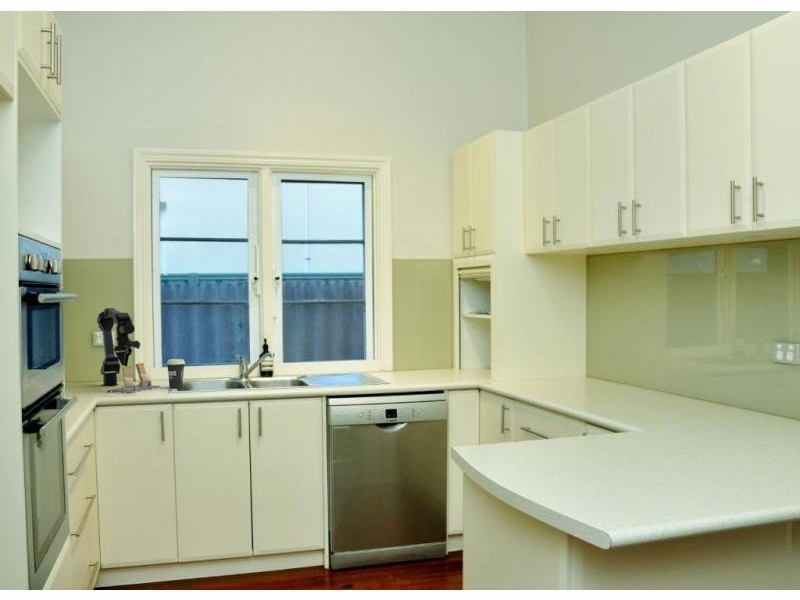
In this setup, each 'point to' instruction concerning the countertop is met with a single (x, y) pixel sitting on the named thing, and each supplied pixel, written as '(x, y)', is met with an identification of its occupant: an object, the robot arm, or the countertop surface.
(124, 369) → the lever
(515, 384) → the countertop surface
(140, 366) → the lever
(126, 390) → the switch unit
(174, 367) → the coffee cup
